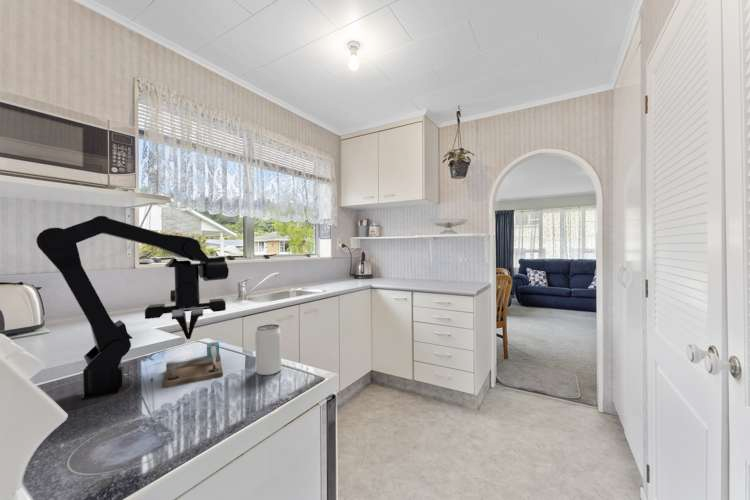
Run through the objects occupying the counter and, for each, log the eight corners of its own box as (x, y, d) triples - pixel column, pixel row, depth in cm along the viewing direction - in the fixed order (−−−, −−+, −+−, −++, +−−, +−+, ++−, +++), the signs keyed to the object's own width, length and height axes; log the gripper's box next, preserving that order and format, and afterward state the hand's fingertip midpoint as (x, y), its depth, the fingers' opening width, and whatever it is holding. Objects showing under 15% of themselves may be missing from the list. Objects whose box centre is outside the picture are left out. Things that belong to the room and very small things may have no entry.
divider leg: (207, 370, 82) (207, 353, 82) (207, 358, 91) (206, 343, 90) (220, 367, 83) (220, 351, 83) (218, 356, 92) (218, 341, 92)
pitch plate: (162, 387, 75) (162, 369, 75) (167, 370, 86) (166, 354, 85) (222, 376, 81) (222, 358, 81) (220, 361, 92) (219, 346, 92)
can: (256, 368, 86) (256, 325, 86) (281, 365, 88) (280, 323, 88) (255, 377, 80) (254, 331, 80) (281, 374, 82) (280, 328, 82)
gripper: (222, 278, 98) (223, 327, 98) (149, 282, 89) (151, 337, 89) (225, 281, 88) (226, 336, 89) (143, 286, 79) (145, 347, 79)
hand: (188, 338), depth 87 cm, fingers closed
